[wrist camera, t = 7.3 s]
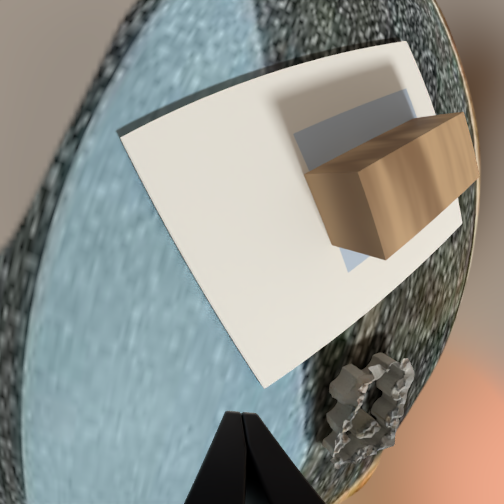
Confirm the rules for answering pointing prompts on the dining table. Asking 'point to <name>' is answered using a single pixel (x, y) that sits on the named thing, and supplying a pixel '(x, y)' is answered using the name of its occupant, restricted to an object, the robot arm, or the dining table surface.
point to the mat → (282, 198)
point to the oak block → (394, 184)
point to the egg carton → (357, 420)
